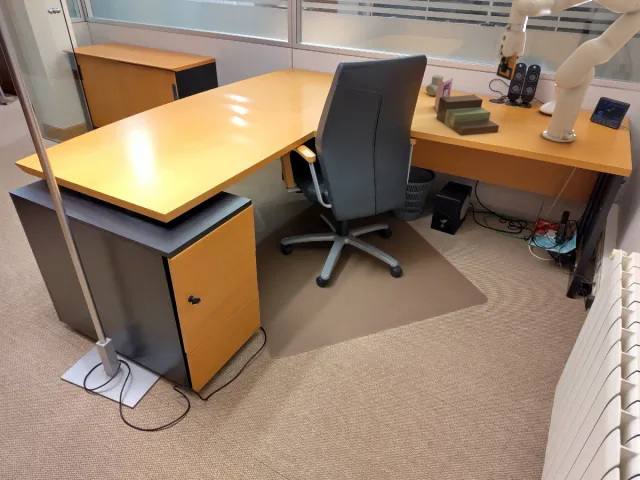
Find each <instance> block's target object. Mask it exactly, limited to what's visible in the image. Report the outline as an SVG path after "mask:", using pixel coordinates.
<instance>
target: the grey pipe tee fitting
mask: <svg viewBox="0 0 640 480" xmlns="http://www.w3.org/2000/svg"><path fill="white" fill-rule="evenodd" d="M439 77H440V78H441V80H442V81H443V82H444V76H443V75H438V74H436V75H435V74H434V75H432V77H431V83H429V84H427V86H426V87H425V92H426V93H427V94H428V95H429V96H431V97H436V93H437V86H438V80H439Z"/></svg>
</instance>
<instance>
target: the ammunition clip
mask: <svg viewBox="0 0 640 480" xmlns="http://www.w3.org/2000/svg"><path fill="white" fill-rule="evenodd" d="M502 57H503V55H502ZM517 61H518V59H517V52H516V54H515V51H514V53H513V56H512V57H508V62H507V64H508V66H507V71H506V73H503V72H501V67H502V62H501V60H500V59H499V63H498V66H497V70H496V74H495V75H496V76H497V77H499V78H503V79H505V80H508V81H514V78H515V74H516V65H517Z"/></svg>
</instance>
